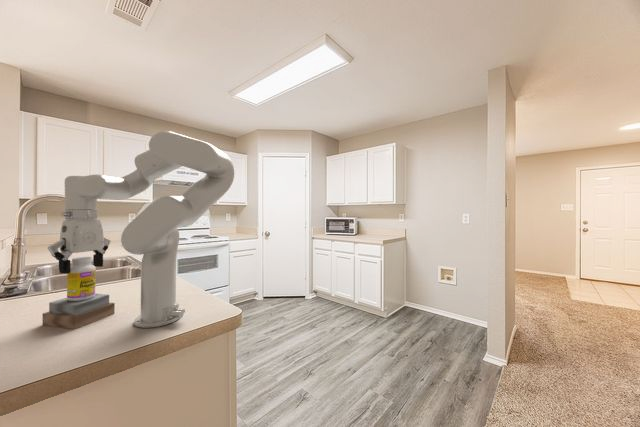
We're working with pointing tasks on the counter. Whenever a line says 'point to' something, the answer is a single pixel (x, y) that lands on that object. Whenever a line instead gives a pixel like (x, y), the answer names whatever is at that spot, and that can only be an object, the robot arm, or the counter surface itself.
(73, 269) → the supplement bottle
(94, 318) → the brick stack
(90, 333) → the counter surface
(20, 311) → the counter surface
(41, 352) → the counter surface
